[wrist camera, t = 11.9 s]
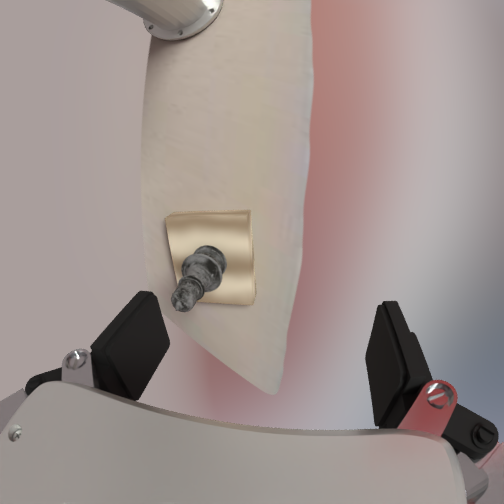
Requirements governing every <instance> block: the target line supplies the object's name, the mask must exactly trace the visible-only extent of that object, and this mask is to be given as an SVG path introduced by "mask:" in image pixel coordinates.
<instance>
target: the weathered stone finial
mask: <svg viewBox="0 0 504 504" xmlns="http://www.w3.org/2000/svg"><path fill="white" fill-rule="evenodd" d="M226 268H227V261H226V258H225V256H224V254H223V253H222V252H221V251H220V250H219V249H218V248H216V247H214V246H210V245H204V246H201V247H199V248H197V249H196V250H195V252H194V254H192V255H190V256H188V257H187V258H186V259H185V260H184V261H183V263H182V267H181V272H182V276H183V277H182V278H181V279H180V280H179V282H178V288H177V289H176V290H175V292H174V293H173V294H172V297H171V301H172V304H173V306H174V307H175V309H176V311H181V312H188V311H190V310H191V309H192V308H193V306H194V305H195V303H196V301H197V300H200V299H201V298H202V297H203V296H204V294H205V292H211V291H214V290H215V289H217V288H218V287H219V286H220V284H221V282H222V274H223V273H224V272H225V270H226Z"/></svg>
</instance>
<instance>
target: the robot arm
mask: <svg viewBox="0 0 504 504" xmlns="http://www.w3.org/2000/svg"><path fill="white" fill-rule="evenodd" d="M107 1H109V2H111V3H113V4H115V5H117V6H120V7H122V8H124V9H126V10H128V11H130V12H132V13H134V14H136V15H138V16H139V17H141V18H143V20H144V25H145V28H146V29H147V31H148V32H149V33H150V34H152V35H153V36H155V37H157V38H159V39H162V40H169V41H171V40H180V39H185V38H187V37H190V36H193V35H195V34H197V33H199V32H200V31H202V30H203V29H205V28H206V27H207V26H208V25H209V24H211V23H212V22H213V20H214V19H215V18H216V17H217V16H218V14H219V12H220V10H221V8H222V5H223V0H107ZM181 34H182V35H181ZM169 345H170V340H169V337H168V334H167V330H166V327H165V324H164V320H163V317H162V314H161V310H160V307H159V303H158V300H157V297H156V296H155V295H154V294H153V292H149V291H139V292H138V293H137V294H136V295H135V296H134V297H133V298H132V300H131V301H130V302H129V303H128V304H127V305H126V306H125V307H124V308H123V309H122V311H121V312H120V313H119V314H118V315H117V316H116V317H115V318H114V320H113V321H112V322H111V323H110V324H109V325H108V326H107V328H106V329H105V330H104V331H103V332H102V333H101V334H100V336H99V337H98V338H97V339H96V340H95V342H94V343H93V344H92V345H91V346H90V347H91V349H92V352H91V353H89V352H88V351H87V350H85V349H77V350H74V351H71V352H70V353H68V354H67V355H66V356H65V358H64V359H63V362H62V367H61V368H58V369H55V370H52V371H48V372H45V373H42V374H39V375H36V376H34V377H32V378H31V379H30V380H29V381H28V382H27V384H26V387H25V391H24V389H21V390H19V391H17V392H16V393H14V394H12V395H11V396H9V397H7V398H6V399H4V400H2V401H0V504H504V442H502V443H501V444H500V443H499V442H498V431H497V428H496V427H495V425H494V424H493V423H491V422H490V421H488V420H486V419H484V418H482V417H481V416H479V415H477V414H476V413H474V412H472V411H470V410H468V409H467V408H465V407H463V406H461V405H459V404H458V403H457V399H458V397H457V392H456V390H455V388H454V387H453V386H452V385H451V384H449V383H448V382H446V381H443V380H433V379H432V376H431V373H430V371H429V368H428V365H427V363H426V360H425V357H424V355H423V352H422V349H421V347H420V344H419V342H418V339H417V337H416V335H415V333H413V332H410V330H409V328H408V326H407V323H406V321H405V318H404V316H403V314H402V311H401V309H400V307H399V305H398V302H397V301H383V303H382V305H378V307H377V311H376V315H375V320H374V324H373V329H372V332H371V336H370V340H369V344H368V347H367V351H366V357H365V360H366V366H367V372H368V379H369V385H370V392H371V399H372V406H373V414H374V423H375V426H379V429H360V430H359V429H358V430H301V429H282V428H269V427H259V426H250V425H242V424H235V423H228V422H221V421H216V420H210V419H204V418H200V417H195V416H190V415H186V414H181V413H177V412H173V411H168V410H165V409H160V408H157V407H153V406H150V405H146V404H143V403H139V402H136V400H139V398H140V397H141V395H142V393H143V391H144V389H145V388H146V386H147V384H148V383H149V381H150V379H151V377H152V375H153V374H154V372H155V371H156V369H157V367H158V365H159V363H160V362H161V360H162V358H163V357H164V355H165V353H166V352H167V350H168V348H169ZM465 490H466V492H465ZM466 493H467V497H466Z"/></svg>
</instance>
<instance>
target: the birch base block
mask: <svg viewBox="0 0 504 504" xmlns="http://www.w3.org/2000/svg"><path fill="white" fill-rule="evenodd" d="M165 222H166V228H167V234H168V239H169V245H170V250H171V255H172V260H173V265H174V270H175V275H176V280H177V284H178V282H179V280H180V279H181V278H182V277H183V276H182V272H181V267H182V263H183V261H184V260H185V259H186V258H187V257H188V256H190V255H192V254H194V252H195V250H196V249H197V248H199V247H201V246H204V245H210V246H214V247H216V248H218V249H219V250H220V251H221V252H222V253H223V254H224V256H225V258H226V261H227V268H226V270H225V272H224V273H223V274H222V282H221V284H220V286H219V287H218V288H217V289H215V290H214V291H211V292H205V294H204V296H203V297H202V298H201V299H200V300H197V301H196V302H209V303H223V304H240V305H253V304H254V300H255V297H256V283H255V268H254V254H253V239H252V224H251V210H221V211H191V212H173V213H172V214H170V215H169V216H167V217H166V218H165Z"/></svg>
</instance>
